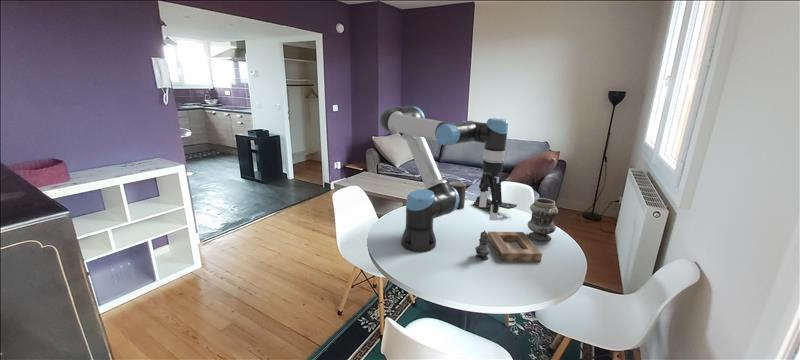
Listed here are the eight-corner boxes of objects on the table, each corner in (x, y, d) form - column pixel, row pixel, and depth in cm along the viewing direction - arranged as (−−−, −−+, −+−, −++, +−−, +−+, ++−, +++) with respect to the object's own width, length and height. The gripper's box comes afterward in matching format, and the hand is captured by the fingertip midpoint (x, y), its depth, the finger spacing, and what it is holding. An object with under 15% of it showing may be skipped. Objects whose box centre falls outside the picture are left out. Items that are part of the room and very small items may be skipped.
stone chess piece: (482, 262, 130) (485, 234, 127) (471, 256, 135) (474, 229, 131) (492, 258, 134) (495, 231, 130) (481, 252, 138) (483, 225, 135)
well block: (501, 261, 131) (502, 253, 130) (487, 238, 151) (488, 231, 150) (540, 261, 132) (542, 253, 131) (522, 239, 151) (523, 232, 150)
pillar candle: (458, 210, 183) (460, 185, 179) (443, 206, 189) (445, 181, 185) (467, 206, 190) (469, 181, 186) (453, 202, 196) (455, 178, 192)
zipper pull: (508, 207, 171) (472, 194, 191) (506, 219, 173) (471, 205, 193) (519, 204, 176) (482, 192, 196) (517, 216, 178) (481, 202, 198)
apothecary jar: (539, 230, 161) (545, 195, 156) (559, 240, 150) (566, 203, 145) (520, 233, 156) (525, 198, 151) (539, 245, 146) (545, 206, 141)
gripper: (516, 169, 112) (508, 226, 118) (492, 153, 136) (487, 202, 142) (494, 168, 112) (487, 226, 118) (474, 153, 136) (469, 202, 142)
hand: (487, 213), depth 130 cm, fingers open, 13 cm apart
